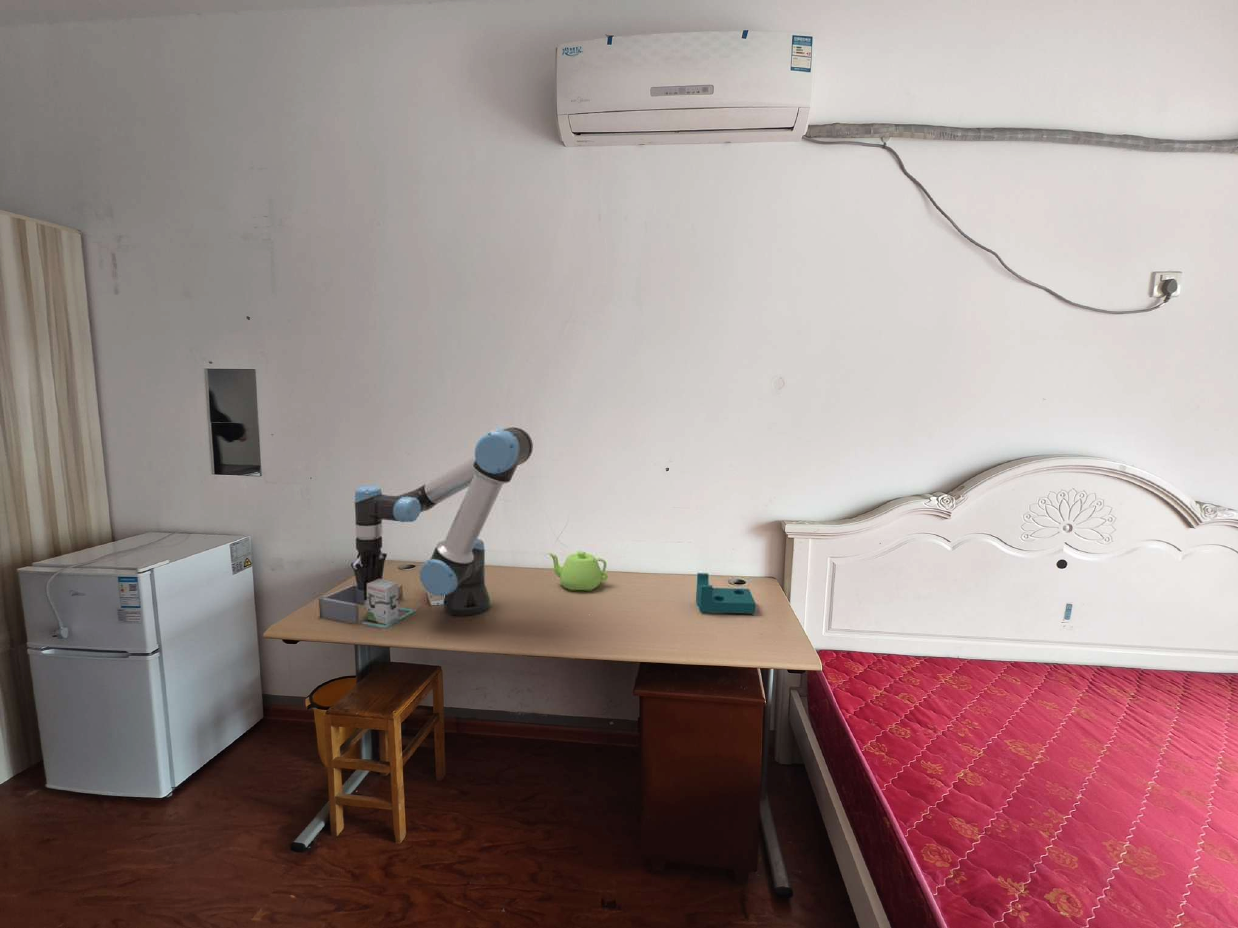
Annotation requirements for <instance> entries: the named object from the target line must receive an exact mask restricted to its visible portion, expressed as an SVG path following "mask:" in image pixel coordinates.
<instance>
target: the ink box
mask: <svg viewBox="0 0 1238 928" xmlns="http://www.w3.org/2000/svg"><path fill="white" fill-rule="evenodd" d="M398 585H399V584H398V583H397V582H393V581H391V580H386V579H383V578H382V579H377V580H374V581H372V582H369V583H367V609H366V619H367V620H369V621H372V622H373V621H374V622H376V623H380V624H383V625H387V624H389V623H390V622H392V621H394V620H396V619H398V618H399V610H398V607H399V602H398Z"/></svg>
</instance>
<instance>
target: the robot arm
mask: <svg viewBox="0 0 1238 928" xmlns="http://www.w3.org/2000/svg"><path fill="white" fill-rule="evenodd" d="M533 447H534V444H533V440H532V437H531V435H530V434H529V433H528V432H527V431H525V430H523V429H522V428H519V427H507V428H502V429H499V428H498V429H495V430H491V431H489V432H487V433H485V434H484V435H482V436H481V437H480V438H479V440H478V441H477V442H476V445H475V448H474V456H472V457H471V458H469V459H467V460H465V461H464V462H462V463H460V464H458V465H455V467H453V468H451V469H449V470H447V471H446V472H444V473H442V474H441V475H439V476H437V477H435V478H433V479H432V480H430V481H428V482H427V483H425V484H423V485H421V486H420V487H417V488H415V489H414V490H412V491H408V492H404V493H402V494H399V495H387V494H383V492H382V489H381V488H382V487H379V486H374V485H373V486H372V485H371V486H367V485H366V486H361V487H360V486H359V487H357V488H356V489H355V492H354V501H353V502H354V509H355V510H354V512H355V537H356V538H355V549H356V551H357V552H358V553H357V556H356V561H354V562H351V563H350V566H351V568H352V570H353V573H354V577H355V582H356V584H357V587H358V590H363V591H364V600H365V604H364V610H367V583H369V582H372V581H374V580H377V579H383V574H384V567H385V561H386V558H387V556H388V554H387V553H384V552H382V548H383V537H382V535H383V520H384V521H392V522H400V523H413V522H415V521H416V520H417V519H418V518H419V516H420V514H421V513H423V512H426V511H429V510H431V509H433V507H435V506H437V505H438V504H440V503H442V502H443V501H445V500H447V499H449V498H451V497H452V496H455V495H456V494H458V493H460V492H462V491H463V490H465V489H467V491H466V493H465V494H464V497H463V500H462V502H461V504H460V506H459V508H458V510H457V511H456V515H455V517H454V519H453V521H452V523H451V526H450V528H449V530H448V532H447V535H446V537H445V539H444V540H441V541H438V543H437V544H436V546H435V548H434V550H433V552H432V555H431V557H430V558H429V559H428V560H426V561H425V562H424V563H423V564H422V565H421V567H420V569H419V580H420V582H421V584H422V586H423V589H424V590H426V591H427V592H428V593H430V595H434V596H438V597H443V596H444V598H443V601H442V611H444V613H446V614H449V615H451V616H460V617H462V616H463V617H464V616H466V617H467V616H473V615H478V614H481V613H484V612H485V611H487V610H488V609H490V607H491V597H490V596H489V592H488V589H487V586H486V582H485V581H486V580H485V573H486V572H485V567H486V566H485V553H486V550H485V543H484V541H483V540H482V539H480V538H479V537H480V535H481V532H482V531H483V527H484V525H485V524H486V521H487V519H488V517H489V516H490V512H491V511H492V510H493V506H494V504H495V502H496V500H497V497H498V496H499V493H500V491H501V489H502V488H503V486H504V485H505V484H508V483H510V482H511V480H512V479H513V476H514V473H515V472H516V470H517V468H518V466H519V465H522V464H524V463H526V462H527V461H528V460H529V459H530V457H531V456H532V454H533V449H534V448H533Z"/></svg>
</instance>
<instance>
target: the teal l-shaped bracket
mask: <svg viewBox="0 0 1238 928" xmlns="http://www.w3.org/2000/svg"><path fill="white" fill-rule="evenodd" d="M755 601H756V600H755V599H754V597H753V595H752V592H751V590H750V589H749V588H733V587H732V588H726V587H724V588H723V587H714V586H713V585H712V584H710V583H709V573H707V572H697V577H696V592H695V602H696V606H698V607H699V608H698V607H697V608H698V609H699V613H714V614H716V613H719V614H720V613H723V614H725V613H726V614H751V613H755V614H756V606H757V605H756V604H757V603H756V602H755Z"/></svg>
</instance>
